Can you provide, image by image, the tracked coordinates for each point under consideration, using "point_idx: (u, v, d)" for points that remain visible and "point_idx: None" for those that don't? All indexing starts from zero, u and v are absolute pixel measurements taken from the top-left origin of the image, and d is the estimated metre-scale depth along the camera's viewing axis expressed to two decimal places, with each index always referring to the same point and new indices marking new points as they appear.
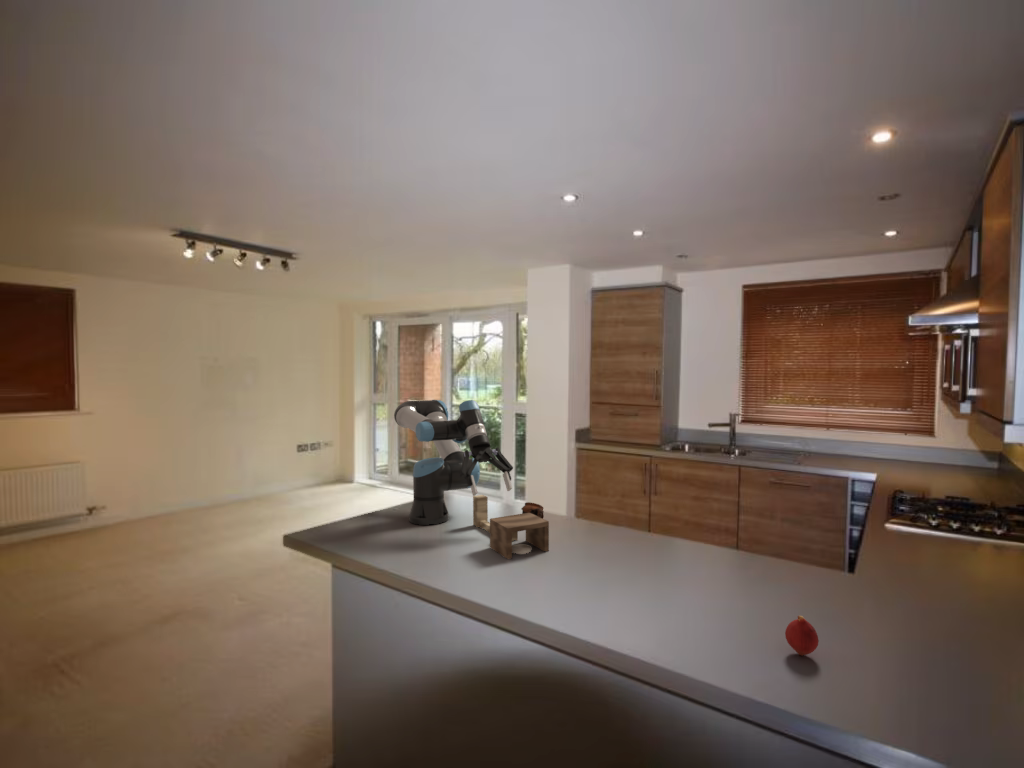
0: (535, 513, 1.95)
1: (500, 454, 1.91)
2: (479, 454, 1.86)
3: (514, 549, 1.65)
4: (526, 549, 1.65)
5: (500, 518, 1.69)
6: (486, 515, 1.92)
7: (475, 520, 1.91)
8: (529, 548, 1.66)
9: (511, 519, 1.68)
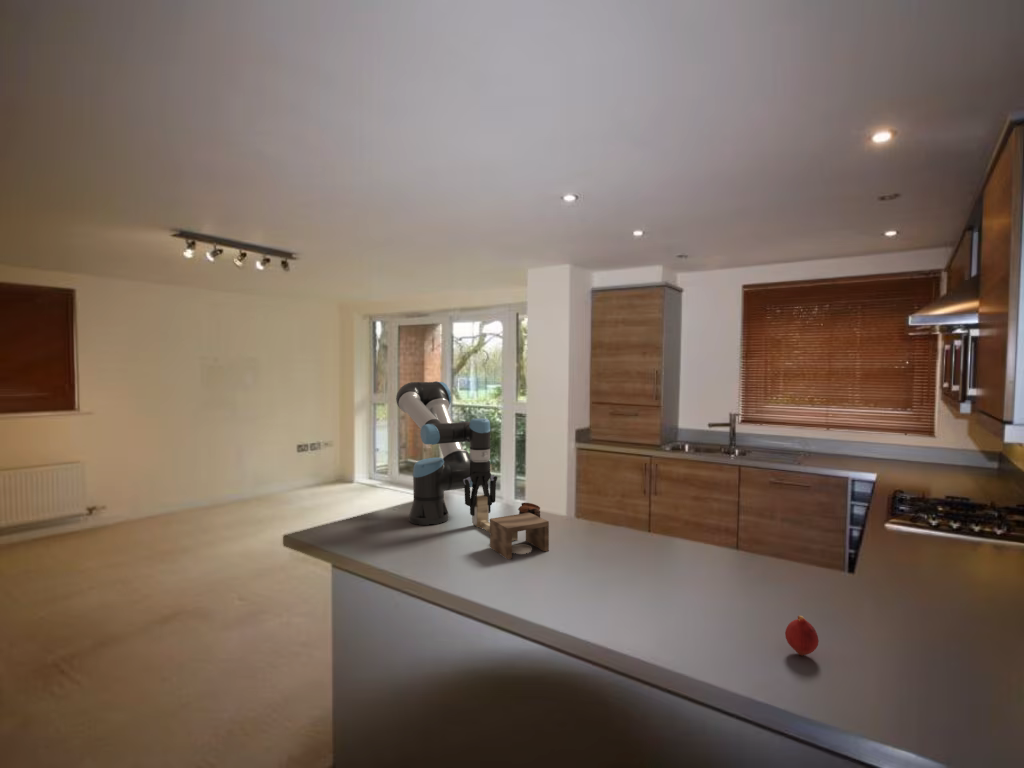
0: (532, 513, 1.95)
1: (494, 484, 1.94)
2: (478, 481, 1.90)
3: (514, 549, 1.65)
4: (526, 549, 1.65)
5: (500, 518, 1.69)
6: (486, 515, 1.92)
7: None
8: (529, 548, 1.66)
9: (511, 519, 1.68)
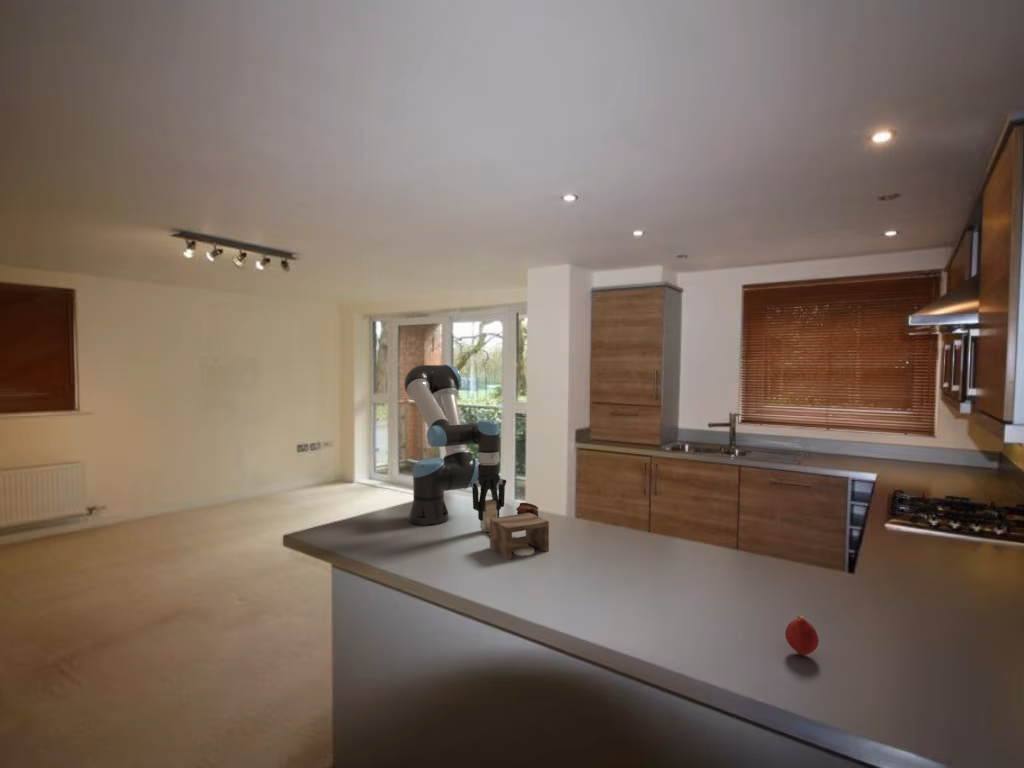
0: None
1: (503, 487, 1.88)
2: (487, 485, 1.84)
3: (516, 551, 1.63)
4: (529, 551, 1.63)
5: (500, 518, 1.69)
6: None
7: None
8: (532, 550, 1.64)
9: (511, 519, 1.68)
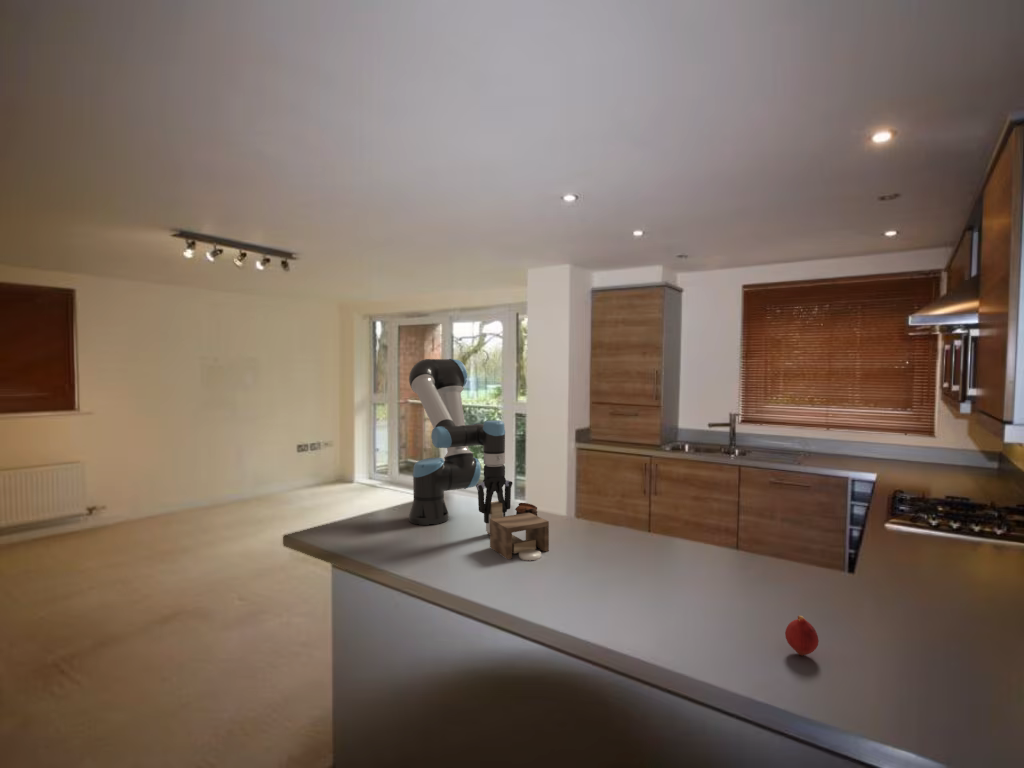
0: None
1: (509, 489, 1.84)
2: (493, 487, 1.80)
3: (523, 555, 1.59)
4: (535, 555, 1.59)
5: (500, 518, 1.69)
6: None
7: None
8: (539, 554, 1.60)
9: (511, 519, 1.68)
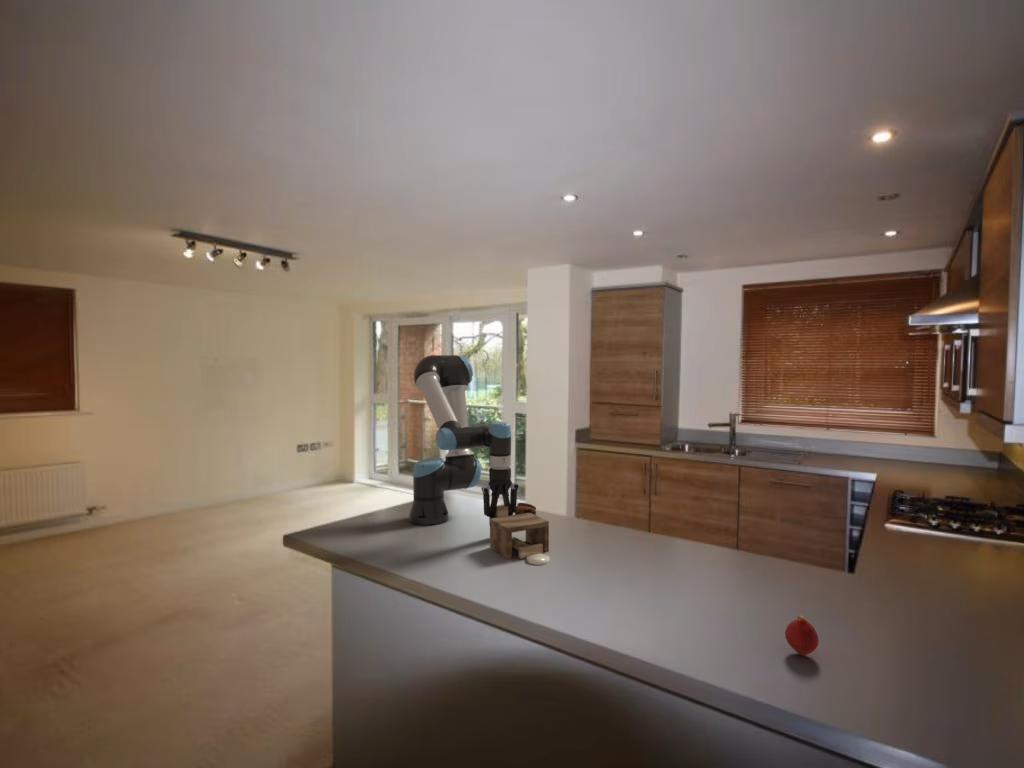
0: None
1: (515, 492, 1.80)
2: (498, 490, 1.76)
3: (531, 560, 1.56)
4: (544, 559, 1.56)
5: (500, 518, 1.69)
6: None
7: None
8: (547, 558, 1.57)
9: (511, 519, 1.68)
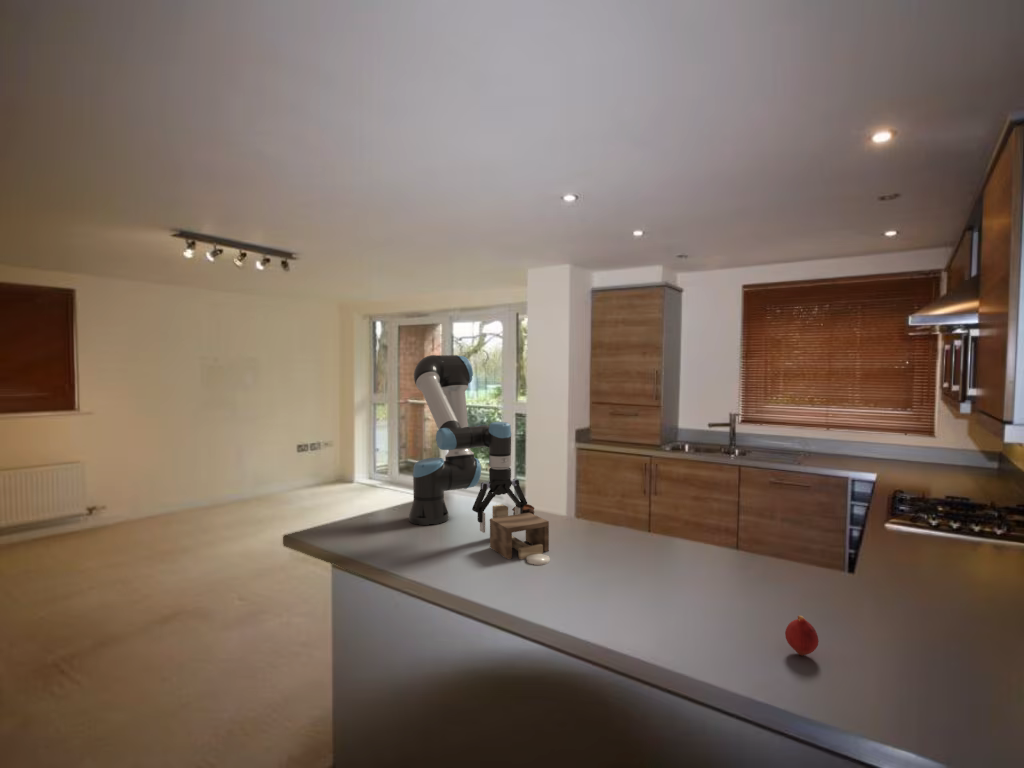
0: None
1: (518, 488, 1.81)
2: (497, 490, 1.76)
3: (531, 559, 1.56)
4: (544, 559, 1.56)
5: (500, 518, 1.69)
6: None
7: None
8: (547, 558, 1.57)
9: (511, 519, 1.68)
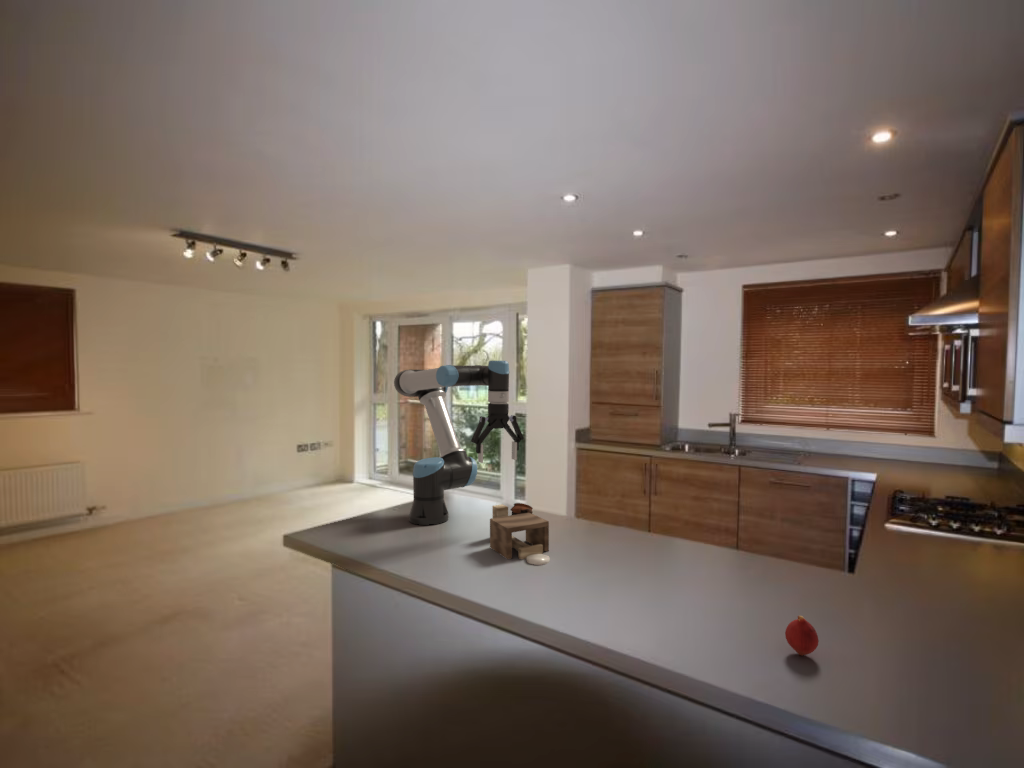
0: None
1: (515, 423, 1.91)
2: (495, 423, 1.86)
3: (531, 559, 1.56)
4: (544, 559, 1.56)
5: (500, 518, 1.69)
6: None
7: None
8: (547, 558, 1.57)
9: (511, 519, 1.68)
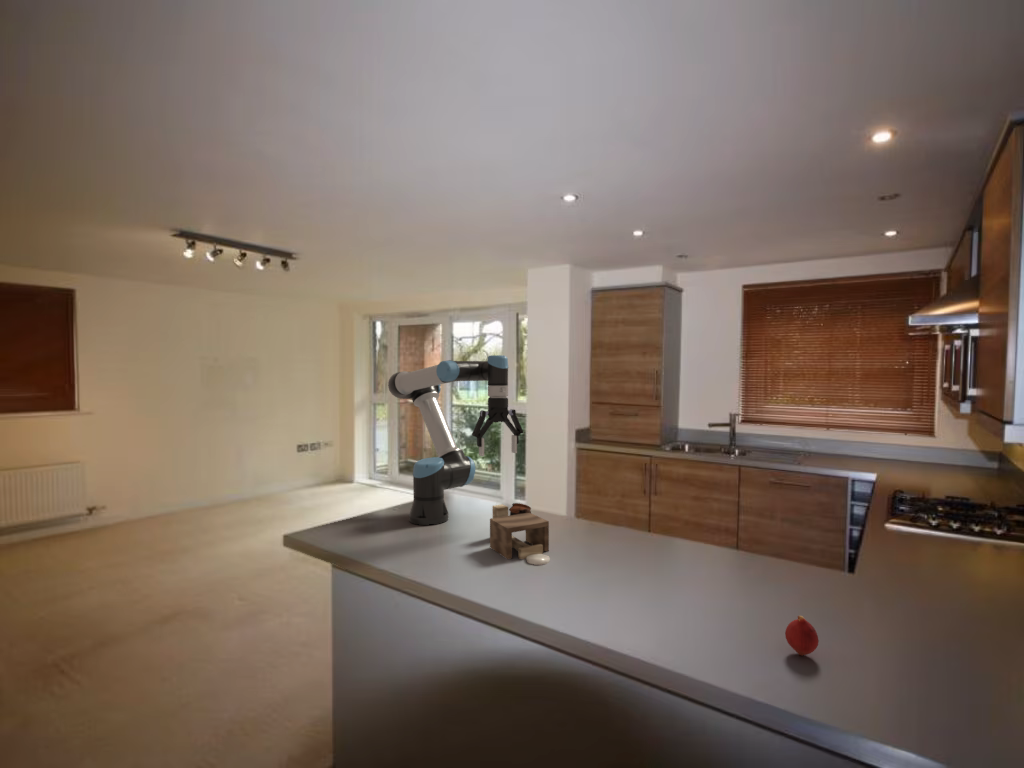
0: None
1: (515, 417, 1.94)
2: (495, 417, 1.89)
3: (531, 559, 1.56)
4: (544, 559, 1.56)
5: (500, 518, 1.69)
6: None
7: None
8: (547, 558, 1.57)
9: (511, 519, 1.68)
